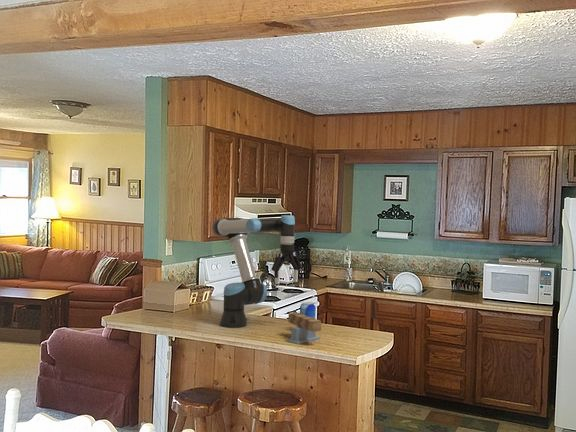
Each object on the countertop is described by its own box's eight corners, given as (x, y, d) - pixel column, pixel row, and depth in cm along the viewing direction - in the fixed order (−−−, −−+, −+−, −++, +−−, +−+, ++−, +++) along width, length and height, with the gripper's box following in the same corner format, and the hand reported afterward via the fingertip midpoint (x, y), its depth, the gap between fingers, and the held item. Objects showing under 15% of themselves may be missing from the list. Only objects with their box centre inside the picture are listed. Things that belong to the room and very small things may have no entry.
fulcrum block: (286, 341, 301) (287, 327, 301) (308, 336, 312) (309, 322, 312) (297, 344, 295) (298, 329, 295) (319, 339, 306) (320, 325, 306)
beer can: (305, 329, 329) (306, 300, 328) (317, 331, 323) (318, 302, 323) (296, 331, 322) (297, 302, 322) (308, 334, 317) (309, 304, 316)
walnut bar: (288, 322, 312) (288, 312, 312) (296, 321, 315) (296, 312, 315) (312, 331, 291) (312, 321, 291) (320, 331, 294) (321, 321, 294)
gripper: (275, 245, 309) (274, 285, 310) (308, 243, 327) (307, 281, 327) (265, 244, 315) (264, 283, 315) (298, 242, 332) (297, 280, 333)
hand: (286, 282), depth 321 cm, fingers open, 13 cm apart
